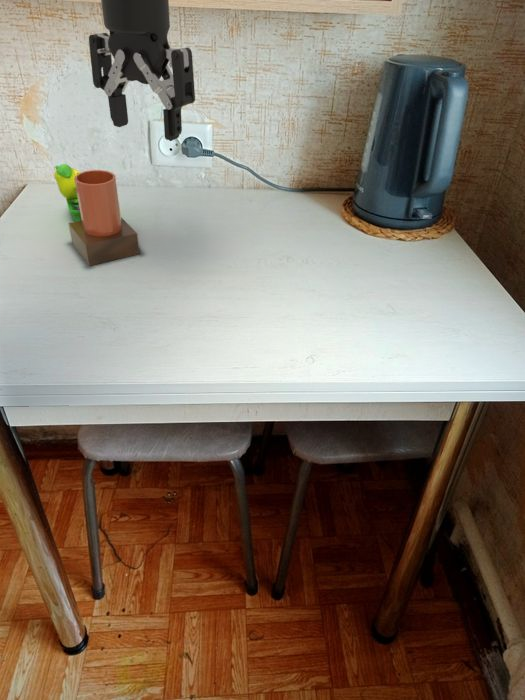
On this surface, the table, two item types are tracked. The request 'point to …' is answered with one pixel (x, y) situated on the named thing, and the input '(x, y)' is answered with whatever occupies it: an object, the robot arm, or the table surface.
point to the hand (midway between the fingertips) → (146, 132)
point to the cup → (98, 202)
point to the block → (104, 244)
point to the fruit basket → (68, 188)
